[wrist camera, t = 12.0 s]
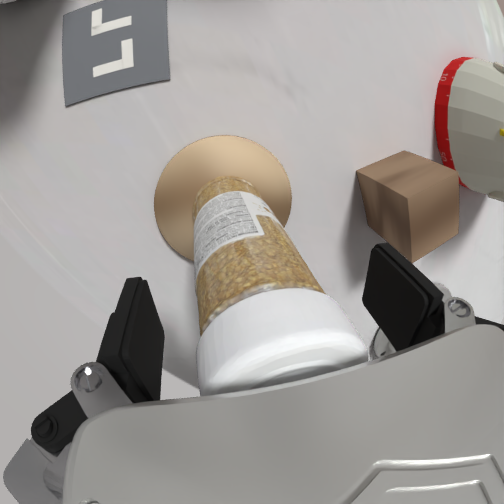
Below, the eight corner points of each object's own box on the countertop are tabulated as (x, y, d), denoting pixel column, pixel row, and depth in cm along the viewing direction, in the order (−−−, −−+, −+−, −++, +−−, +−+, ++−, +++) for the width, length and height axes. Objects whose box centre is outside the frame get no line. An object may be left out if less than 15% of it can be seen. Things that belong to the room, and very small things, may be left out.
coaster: (288, 252, 21) (291, 256, 20) (169, 269, 20) (168, 274, 19) (287, 130, 16) (290, 131, 16) (144, 146, 15) (143, 148, 15)
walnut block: (411, 202, 21) (458, 233, 16) (367, 225, 21) (411, 263, 16) (403, 150, 18) (458, 171, 13) (355, 170, 19) (407, 198, 14)
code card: (170, 79, 13) (170, 79, 13) (65, 106, 12) (65, 106, 12) (166, -14, 10) (166, -15, 10) (64, 15, 9) (63, 15, 9)
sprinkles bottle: (270, 222, 19) (374, 395, 7) (209, 249, 19) (244, 447, 7) (246, 161, 16) (372, 307, 5) (178, 191, 16) (162, 391, 5)
